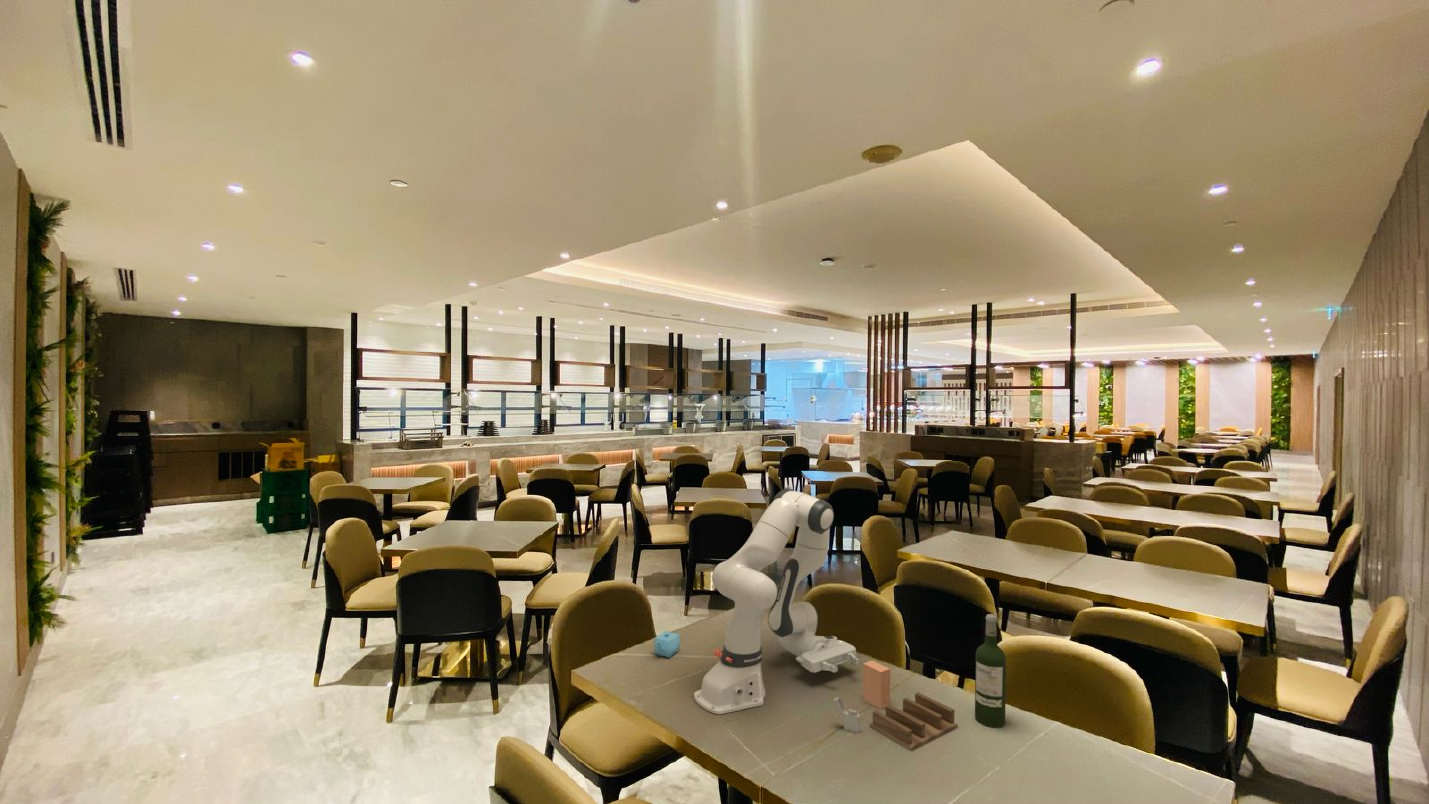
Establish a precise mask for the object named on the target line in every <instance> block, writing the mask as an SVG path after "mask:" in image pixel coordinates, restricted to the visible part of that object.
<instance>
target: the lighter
mask: <svg viewBox="0 0 1429 804" xmlns="http://www.w3.org/2000/svg"><path fill="white" fill-rule="evenodd" d="M833 702H834V704H835V707H836V709H837V712H838V715H843V723H844V724H843V729H844V730H845V731H850V732H854V733H860V731H861V714H860V713H858V711H856V710H855V709H851V708H849V709H848V710H845V707H844V704H843V703H842V700H841V698H840V696H836V697H834V698H833Z"/></svg>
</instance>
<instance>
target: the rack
mask: <svg viewBox="0 0 1429 804" xmlns="http://www.w3.org/2000/svg"><path fill="white" fill-rule="evenodd" d="M914 696H915V697H914V700H912V699H911V698H908V697H904V698H903V699H902V708H901V709H898V708H896V707H895V706H893V705H891V704H890V705H888V706H886V707H885V714H884V713H882V712H881V711H878V710H874V711H872V722H869V727H870V728H872V729H873V730H875V731H877V732H879V733H880V734H882V735H884V736H886V737H887V738H889V739H890V738H891V739H890V740H892V741H894V742H896V743H897V744H899V745H901V746H903V747H904V746H905V747H904V748H906V749H908V750H909V749H910V750H909V751H911V752H912V751H913V750H916V749H918V748H919V747H921V746H924V745H925V744H926V745H927V744H928V743H930V742H932V741H934V740H936V739H937V738H939V737H941V736H943V735H944V736H945V734H947V733H950V732H951V731H953V730H955V729H958V723H956V722H955V709H953V708H952V707H949V706H947V705H945V704H944V703H941V702H940V701H937V700H935V699H933V698H931V697H929V696H927V695H924V694H923V693H920V692H916V693H915V694H914Z"/></svg>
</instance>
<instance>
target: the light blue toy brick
mask: <svg viewBox="0 0 1429 804" xmlns="http://www.w3.org/2000/svg"><path fill="white" fill-rule="evenodd" d="M680 636H681V635H680V633H675V632H669V631H666V630H665V631H663V632H662V633H661V634H659V635H657V636H656V637H654V654H655V655H657V656H659V657H661V656H662V657H666V658H667V659H670V658H672V656H673V655H676V654H677V652H679V651H680V648H681V647H680V644H681V643H680V640H681V639H680V638H681V637H680Z"/></svg>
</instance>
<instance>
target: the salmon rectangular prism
mask: <svg viewBox="0 0 1429 804" xmlns="http://www.w3.org/2000/svg"><path fill="white" fill-rule="evenodd" d="M862 700H863V701H864V702H866V703H868V704H870V705H872V706H874V707H876V708H878V709H879V710H883V709H886V706H888V705H891V668H889V667H888V666H885V665H882V664H881V663H879V662H876V661H874V660H872V659H871V660H869V661H866V662H863V663H862Z"/></svg>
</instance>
